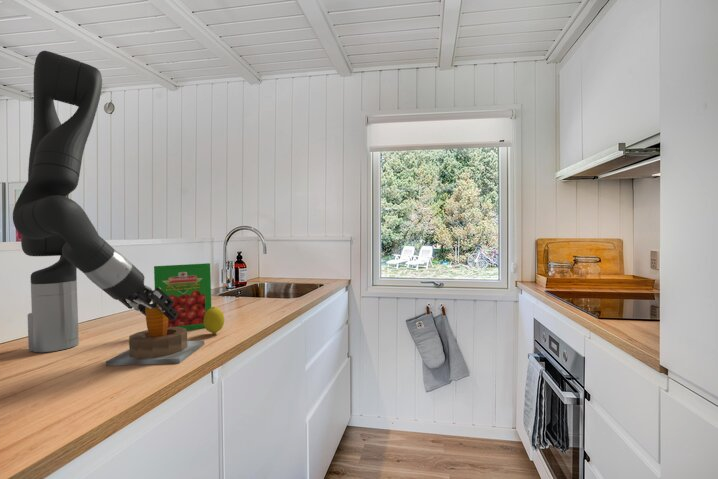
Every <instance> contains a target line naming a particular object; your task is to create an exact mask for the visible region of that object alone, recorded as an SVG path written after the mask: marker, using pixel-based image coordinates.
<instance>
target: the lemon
mask: <svg viewBox="0 0 718 479" xmlns="http://www.w3.org/2000/svg"><path fill="white" fill-rule="evenodd" d="M224 324H225V315H224V313H223V311H222V309H220V308H218V307H216V306H211V309H209V310H208V311H207V312H206V313H205V316H204V327H205V328H204V329H205V330H206V331H207V332H209V333H211V334H213V335H216V334H217V333H218V332H219V331H221V330H222V329H223V326H224Z"/></svg>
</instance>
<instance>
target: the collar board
mask: <svg viewBox="0 0 718 479" xmlns="http://www.w3.org/2000/svg"><path fill="white" fill-rule="evenodd" d="M128 342H129V345H128V346H129V348H128V349H127V350H125V351H123V352H122V353H121V352H120V353H119V354H117V355H116V356H114V357H113V356H112V358H110V359H108V360H106V361H105V366H106V367H109V366H110V367H111V366H112V367H113V366H114V367H115V366H134V365H135V366H136V365H137V366H138V365H140V366H141V365H158V364H159V365H163V364H166V365H167V364H180V363H182V362H183V361H185V360H186V359H187V358H188V357H190V356H191V355H192V354H194V353H195V352H197V351H198V350H200V348H203V346H204V345H205V340H188V330H186V328H180V327H168V329H167V335H166V336H163V337H156V338H150V336H149V333H148V329H146V330H142V331H139V332H135V333H133V334H131V335H129V337H128Z"/></svg>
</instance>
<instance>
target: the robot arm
mask: <svg viewBox="0 0 718 479" xmlns="http://www.w3.org/2000/svg"><path fill="white" fill-rule="evenodd" d="M102 77H103V76H102V73H101V71H100V70H99V69H98V68H97V67H95V66H92V65H90V64H87V63H85V62H83V61H79V60H76V59H74V58H70V57H67V56H64V55H61V54H59V53H55V52H51V51H49V50H42V51H40V52H39V53H37V55H36V58H35V61H34V66H33V118H32V120H33V121H32V122H33V124H32V133H31V141H30V149H29V155H28V157H29V158H28V169H27V175H28V176H27V181H26V184H25V185H24V187H23V188H22V191H21V192H20V194H19V196H18V198H17V200H16V202H15V204H14V207H13V211H12V222H13V225H14V228H15V230H16V231H17V232H18V233H19V234H21V237H20V244H21V249H22V252H23V253H24V255H26V256H27V257H28V256H29V257H55V256H56V257H57V256H59V260H58V261H56V262H55V263H53V264H51V265H49V266H47V267H44V268H41V269H38V270H35V271H33V272H31V274H30V298H31V301H30V302H31V303H30V304H31V312H29V313H28V314H27V337H28V338H27V340H28V341H27V342H28V343H27V344H28V345H27V346H28V352H34V353H51V352H57V351H62V350H67V349H70V348H73V347H76V346H77V345H79V343H80V342H79V341H80V340H79V339H80V338H79V312H78V311H79V310H78V309H79V307H78V282H77V280H78V278H77V274H78V273H77V269H78V270H79V271H80V272H82V273H83V274H84V275H85V276H86V277H87V279H89V280H90V281H91V282H92V283H93V284H94V285H96V286H97V287H98V288H99V289H101V290H102V291H103V292H105V293H106V294H107V295H108V296H109V297H110V298H112V299H113V300H114V301H115V300H116V301H118V302H120V303H121V304H123V306H126V307H127V308H128V309H129V310H132V309H134V310H135V311H138V312H140V313H141V314H142V315H143V316H145V317H146V313H145V308H146V307H148V308H150V309H156V310H158V311H160V312H162V313H163V314H164V315H165V316H166V317H167V318H168V319H170V320H171V321H174V320H175V319H176V318H177V316H178V312H177V311H176V310H175V309H173V308H172V305H173V304H174V301H173V300H171V299H170V298H169V297H168V296H167V295H166V294H165V293H164V292H163V291H162V290H161V289H160V288H158V287H156V289H155V288H154V290H153V289H152V287H149V286H148V285H145V275H144V273H143V272H141V270H140V269H138V267H136V266H135V265H134V264H133V263H132V262H131V261H130V260H128V259H127V258H126V256H124V255H123V254H122V253H121V252H119V251H118V250H116V249H115V248H113V247H112V245H111V244H109V243H108V242H107V241H106V240H105V239H104V238H103V237H101V236H100V234H99V233H98V231H97V229H96V227H95V226H94V224H93V223H92V221H91V220H90V218H89V217H88V214H87V213H86V212H85V210H84V209H83V207H82V206H81V205H80V204H79V203H78V202H76V201H74V200H73V199H71V198H69V197H68V196H69V194H71V193H72V192H74V191H75V190H76V189H77V187H78V185H79V180H80V174H81V166H82V161H83V157H84V156H83V155H84V151H85V147H86V144H87V142H88V137H89V136H90V133H91V131H92V127H93V123H94V120H95V118H96V115H97V109H98V108H99V107H98V106H99V103H100V100H101V95H102V88H103V87H102V86H103V78H102ZM55 101H57V102H60V103H64V104H67V105H68V104H69V105H71V106H72V105H73V106H75V107H78V108H77V110H76V111H74V112H75V113H73V114H72V116H70V117H69V118H68V119H67V120H66V121H64V122H63V123H61V121H60V119H59V115H58V113H57V109H56V106H55ZM152 301H154V303H153V302H152ZM152 303H153V304H152ZM157 305H159V306H160V307H159V306H157Z"/></svg>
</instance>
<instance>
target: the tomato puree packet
mask: <svg viewBox="0 0 718 479" xmlns="http://www.w3.org/2000/svg"><path fill="white" fill-rule="evenodd" d="M153 274H154V275H153V276H154V277H153V278H154V280H153V281H154V290H155V289H156V287H160V288H161V290H162V291H163V292H164V293H165V294H166V295H167V296H168V297H169V298H170V299H171V300H173V301H174V304H173V305H172V308H173V309H175V310H176V311H177V312H178V316H177V318H176V319H175V320H174V321H171V320H170V319H168V327H180V328H186V330H187V331H190V330H199V329H206V328H205V327H204V316H205V313H206V312H207V311H208V310H209V309H211V308H212V283H211V282H212V280H211V279H212V278H211V263H210V262H206V263H191V264H190V263H189V264H171V265H170V264H169V265H168V264H167V265H154V266H153Z"/></svg>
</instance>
